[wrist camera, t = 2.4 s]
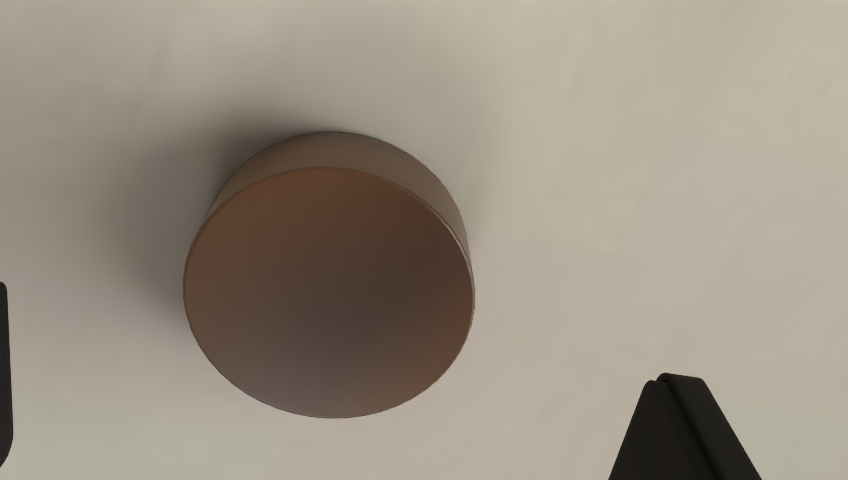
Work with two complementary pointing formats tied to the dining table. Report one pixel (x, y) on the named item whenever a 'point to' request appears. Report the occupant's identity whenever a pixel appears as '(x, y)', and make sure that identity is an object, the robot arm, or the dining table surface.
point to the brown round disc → (331, 277)
